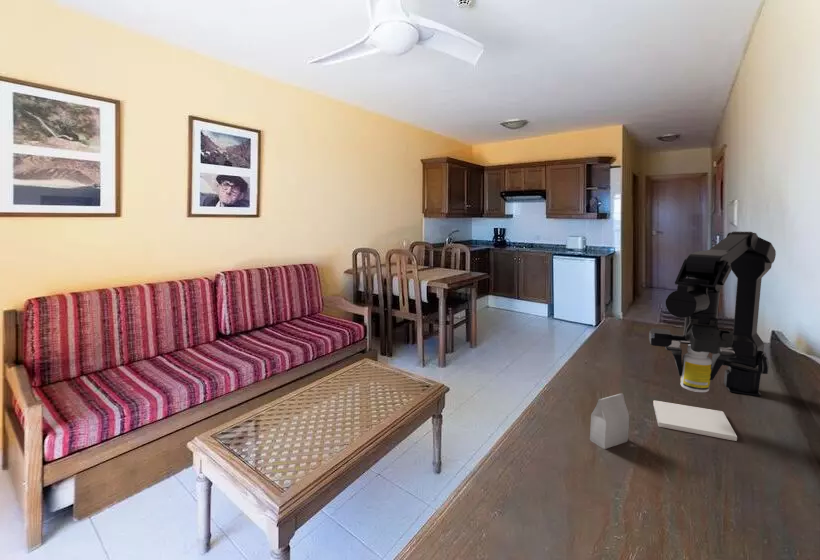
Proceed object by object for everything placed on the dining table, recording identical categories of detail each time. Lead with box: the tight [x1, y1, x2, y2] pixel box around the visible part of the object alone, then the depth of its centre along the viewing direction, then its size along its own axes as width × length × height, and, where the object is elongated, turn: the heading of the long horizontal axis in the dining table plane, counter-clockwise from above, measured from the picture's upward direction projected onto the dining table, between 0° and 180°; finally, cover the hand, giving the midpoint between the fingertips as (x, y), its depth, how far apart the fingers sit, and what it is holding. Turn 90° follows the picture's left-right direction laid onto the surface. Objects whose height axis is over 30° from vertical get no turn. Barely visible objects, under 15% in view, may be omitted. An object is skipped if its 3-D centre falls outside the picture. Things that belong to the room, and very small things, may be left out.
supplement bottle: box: [679, 344, 712, 393], centre depth 89 cm, size 5×5×10 cm
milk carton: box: [589, 392, 630, 450], centre depth 82 cm, size 4×7×10 cm, turn 114°
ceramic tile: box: [652, 400, 738, 442], centre depth 90 cm, size 14×12×1 cm
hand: (695, 377), depth 89 cm, fingers closed on supplement bottle, 5 cm apart
